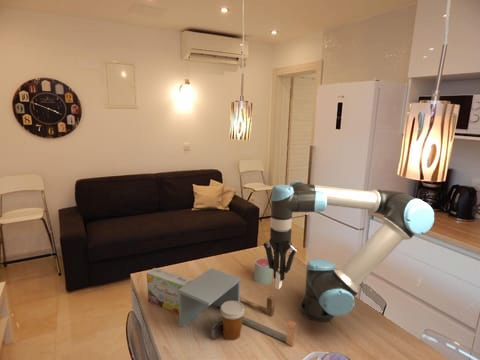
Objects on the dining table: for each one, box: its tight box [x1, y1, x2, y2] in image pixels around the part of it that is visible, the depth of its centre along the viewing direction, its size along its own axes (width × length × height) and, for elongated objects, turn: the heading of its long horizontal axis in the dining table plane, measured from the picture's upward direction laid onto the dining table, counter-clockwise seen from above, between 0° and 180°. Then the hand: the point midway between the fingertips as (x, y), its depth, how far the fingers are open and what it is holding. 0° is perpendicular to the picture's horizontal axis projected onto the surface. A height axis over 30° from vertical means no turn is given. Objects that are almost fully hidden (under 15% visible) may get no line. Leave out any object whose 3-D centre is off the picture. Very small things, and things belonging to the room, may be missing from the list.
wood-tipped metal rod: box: [211, 316, 297, 347], centre depth 117 cm, size 27×16×8 cm, turn 57°
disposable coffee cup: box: [219, 301, 246, 341], centre depth 120 cm, size 10×10×12 cm
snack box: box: [146, 267, 193, 315], centre depth 136 cm, size 21×6×15 cm, turn 62°
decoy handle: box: [240, 294, 276, 318], centre depth 138 cm, size 20×2×8 cm, turn 57°
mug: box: [253, 257, 274, 286], centre depth 162 cm, size 14×9×10 cm
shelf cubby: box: [178, 267, 241, 329], centre depth 127 cm, size 15×21×17 cm
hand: (278, 286), depth 117 cm, fingers closed
